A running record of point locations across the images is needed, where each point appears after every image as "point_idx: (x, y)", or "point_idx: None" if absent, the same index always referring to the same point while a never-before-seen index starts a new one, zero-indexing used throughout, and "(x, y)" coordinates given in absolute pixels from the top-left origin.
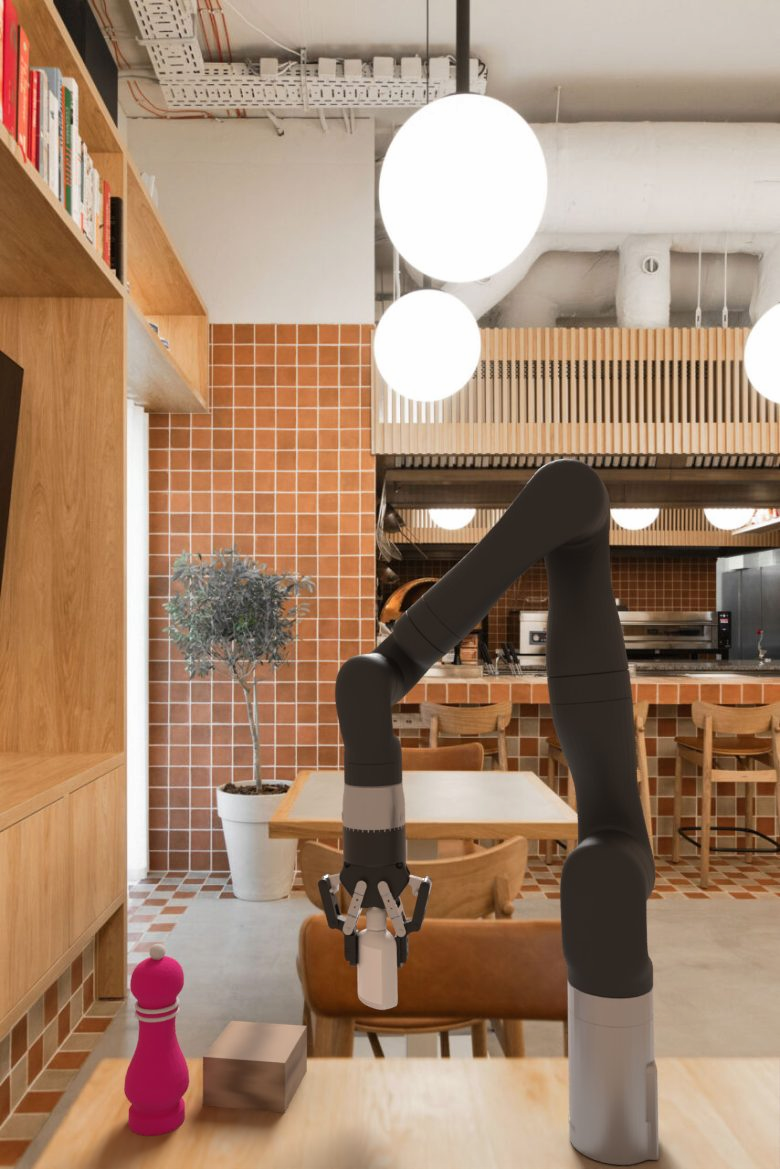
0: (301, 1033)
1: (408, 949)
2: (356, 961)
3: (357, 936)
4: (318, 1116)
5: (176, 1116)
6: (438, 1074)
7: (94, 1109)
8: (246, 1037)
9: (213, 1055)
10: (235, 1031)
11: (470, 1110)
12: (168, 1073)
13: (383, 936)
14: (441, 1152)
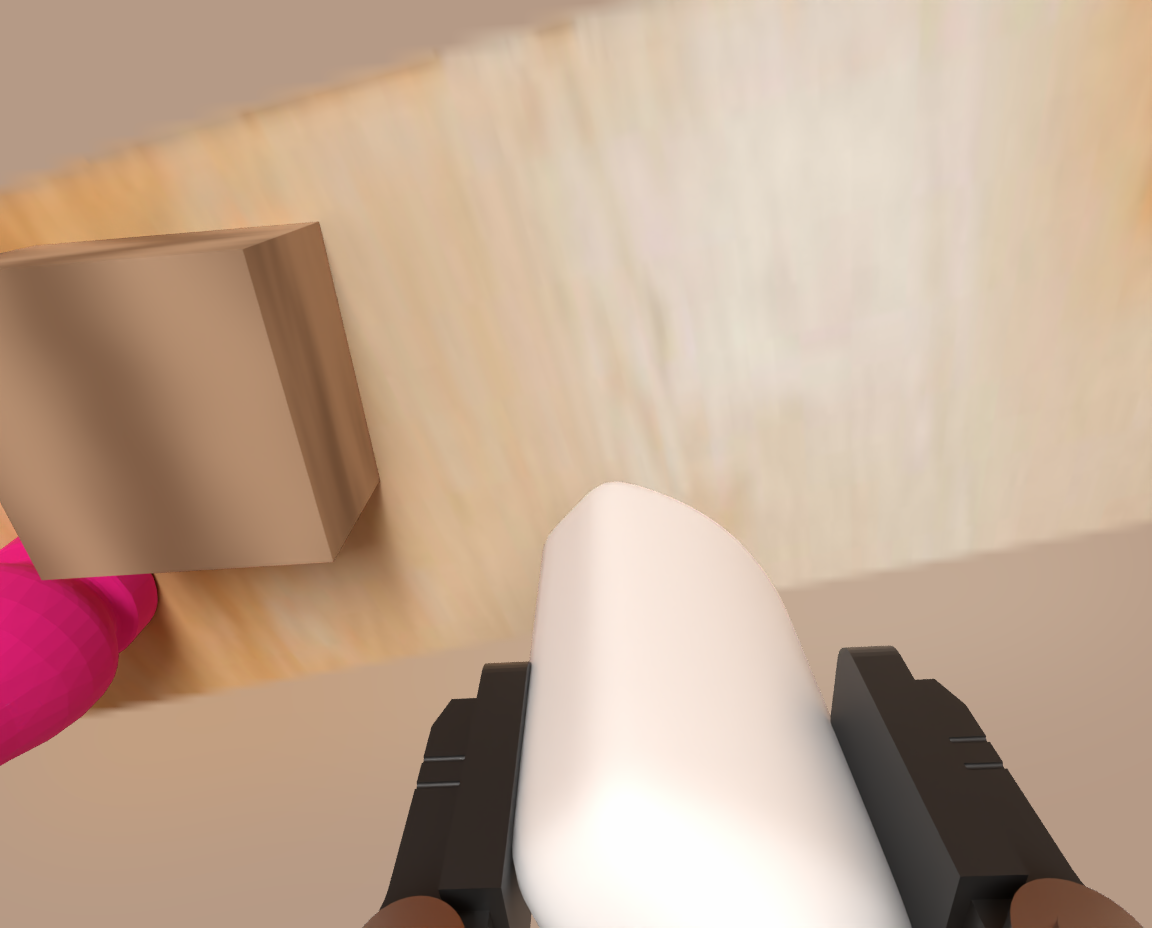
0: (262, 330)
1: (989, 743)
2: None
3: (514, 875)
4: (476, 473)
5: (140, 619)
6: (813, 113)
7: None
8: (72, 418)
9: (67, 566)
10: None
11: (924, 346)
12: (52, 731)
13: None
14: (835, 554)
